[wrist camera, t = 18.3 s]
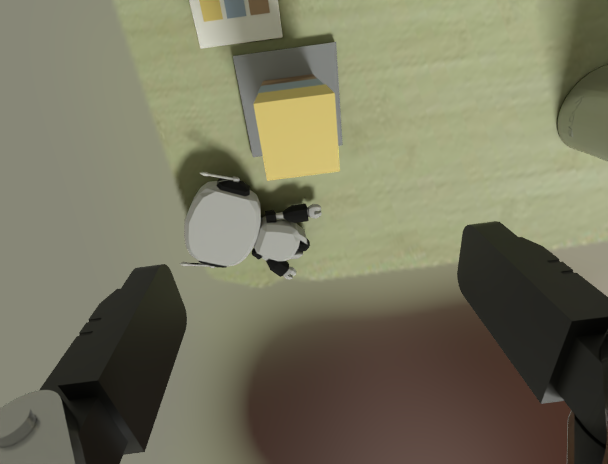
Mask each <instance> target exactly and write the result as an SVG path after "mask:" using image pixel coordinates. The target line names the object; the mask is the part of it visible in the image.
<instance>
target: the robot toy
mask: <svg viewBox="0 0 608 464" xmlns="http://www.w3.org/2000/svg"><path fill="white" fill-rule="evenodd" d="M200 174H202V175H203V176H212V177H217V178H219V180H218V181H211V182H207V183H206V184H205V185H203V186H202V187H201V188H200V189H199V190H198V192H197V194H196V195H195V197H194V199H193V201H192V203H191V206H190V208H189V211H188V213H187V216H186V218H185V235H184V236H185V244H186V247H187V249H188V251H189V253H190V255H191V256H193V257H194V258H196V259H197V260H198V261H199V262H201V263H187V262H182V263H180V264H181V265H182V266H210V268H215V267H222V268H224V267H227V266H228V267H229V266H233V265H237V264H239V263H240V262H242V261H243V260H244V259H245V258H246V257H247V256H248V254H249V253H250V252H251V250H252V248H253V246H254V249H253V250H252V255H253V256H255V257H256V258H257V259H260V258H263V259H264V260H266V262H267V264H268V266H269V268H270V270H271V271H273V272H274V273H276V274H277V275H279V276H280V277H281V276H284V278H286V279H292V278H293V277H292V275H293V276H295V275H296V270H295V269H294V268H293V267H289V264H288V262H287V261H286V260H288V259H297V258H299V257H301V256H302V255H303V251H306V250H307V249H308V248H309V246H310V242H309V240H308V239H307V238H306V235H305V231H304V229H303V228H302V227H300V226H299V225H297V223H298V222H305V221H308V217H312V218H317V217H320V216H321V211H318V210H321V206H320V205H317V204H312V205H311V206H309V207H308V208H307V206H306V204H299V205H292V206H290V207H289V208H287V209H286V210H285V211H283V212H280V213H276V212H275V211H274V210H271V211H265V214H266V216H264V217H263V218H261V210H260V202H259V199H258V197H257V195H256V194H255V193H254V192H252V191H251V190H250V186H249V185H247V184H246V183H244V182H243V181H240V179H239V177H234V176H233V177H227V176H222V175H216V174H210V173H208V172H201V173H200ZM291 274H292V275H291Z"/></svg>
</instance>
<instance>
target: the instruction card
mask: <svg viewBox="0 0 608 464" xmlns="http://www.w3.org/2000/svg"><path fill="white" fill-rule="evenodd" d="M189 2H190V6H191V10H192V14H193V19H194V23H195V27H196V31H197V35H198V40H199V44H200V48H208V47H216V46H223V45H230V44H238V43H245V42H252V41H259V40H267V39H274V38H281V37H283V35H282V27H281V20H280V12H279V4H278V0H189Z"/></svg>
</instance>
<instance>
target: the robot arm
mask: <svg viewBox="0 0 608 464" xmlns="http://www.w3.org/2000/svg"><path fill="white" fill-rule="evenodd" d="M558 132H559V135H560V138H561V139H562V141H563V142H564V143H565V144H566V145H567V146H569V147H571V148H573V149H576V150H579V151H581V152H584V153H587V154H590V155H592V156H595V157H598V158H600V159H603V160H605V161H608V65H606V66H603V67H600V68H598V69H596V70H594V71H592V72H591V73H589V74H588V75H587V76H585V77H584V78H583V79H581V80H580V81H579V82H578V83H577V84H576V85H575V86H574V87H573V89H572V90H571V91H570V93H569V94H568V95H567V97H566V99H565V101H564V103H563V105H562V107H561V110H560V113H559V117H558ZM457 275H458V283H459V287H460V290H461V292H462V294H463V295H464V297H465V298H466V300H467V301H468V303H469V304H470V305H471V307H472V308H473V310H474V311H475V312H476V314H477V315H478V317H479V318H480V319H481V321H482V322H483V323H484V325H485V326H486V328H487V329H488V330H489V332H490V333H491V334H492V336H493V337H494V339H495V340H496V341H497V343H498V344H499V346H500V347H501V348H502V350H503V351H504V353H505V354H506V356H507V357H508V358H509V360H510V361H511V363H512V364H513V365H514V367H515V368H516V369H517V371H518V372H519V374H520V375H521V376H522V378H523V379H524V381H525V382H526V383H527V385H528V386H529V388H530V389H531V390H532V392H533V393H534V395H535V396H536V397H537V399H538V400H539V402H540V403H541V404H542V403H549V402H558V401H565V402H566V404H567V405H568V406H569V407H570V409H571V413H570V415H569V417H568V438H567V464H608V297H607V296H606V295H604V294H603V293H602V292H600V291H599V290H598V289H597V288H595V287H594V286H593V285H592V284H590V283H589V282H588V281H586V280H585V279H584V278H583V277H581V276H580V275H579V274H577V273H573V270H572V269H571V268H570V267H569V266H567V265H566V264H565V263H563V262H560V261H559V259H558V258H557V257H556V256H554V255H553V254H552V253H551V252H549V251H548V250H547V249H545V248H544V247H543V246H541V245H538V244H536V243H534V242H532V241H529V240H527V239H525V238H523V237H517V236H516V235H515V234H514V233H513V232H511V231H510V230H509V229H508V228H506V227H505V226H504V225H503V224H502V223H500V222H497V221H495V222H487V223H480V224H472V225H467V226H466V227H465V228H464V230H463V234H462V242H461V249H460V257H459V264H458V273H457ZM186 322H187V317H186V310H185V306H184V304H183V301H182V299H181V296H180V293H179V291H178V288H177V286H176V283H175V281H174V278H173V275H172V273H171V271H170V269H169V267H168V266H167V265H165V264H162V265H155V266H147V267H140V268H135V269H134V270H133V271H132V273H131V274H130V276H129V277H128V279H127V280H126V282H125V283H124V285H123V286H122V288H121V289H117V290H115V291H114V292H113V293H112V294H111V295H109V296H108V297H107V298H106V299H105V300H103V301H102V302H101V303H100V304H99V305H98V307H97V308H96V310H95V311H94V313H93V314H92V315H91V317H90V318H89V322H88V323H86V324H85V325H84V327H83V328H82V330H81V331H80V335H79V336H77V337H76V339H75V340H74V341H73V343H72V344H71V346H70V347H69V348H68V350H67V351H66V353H65V354H64V356H63V357H62V358H61V360H60V361H59V363H58V364H57V366H56V367H55V369H54V370H53V371H52V373H51V374H50V376H49V377H48V378H47V380H46V382H45V383H44V384H43V386H42V387H41V389H40V390H39V391H34V392H31V393H28V394H25V395H23V396H21V397H18V398H16V399H14V400H13V401H11V402H9V403H8V404H6V405H4V406H3V407H2V408H0V464H120V461H121V459H122V456H123V455H124V454H132V453H139V452H145V449H146V446H147V443H148V440H149V437H150V434H151V431H152V428H153V425H154V422H155V419H156V416H157V413H158V410H159V407H160V404H161V401H162V399H163V396H164V393H165V390H166V387H167V383H168V381H169V378H170V375H171V372H172V369H173V366H174V363H175V360H176V357H177V354H178V351H179V348H180V345H181V342H182V339H183V336H184V333H185V330H186V324H187V323H186Z"/></svg>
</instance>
